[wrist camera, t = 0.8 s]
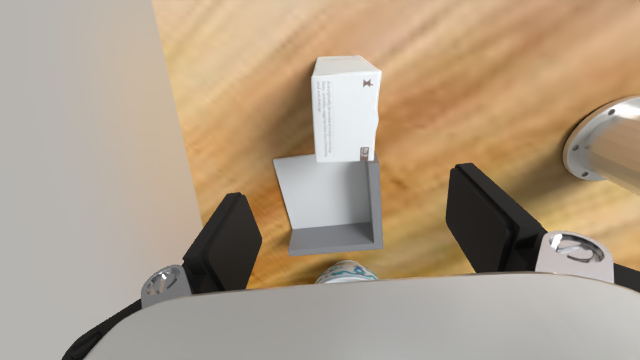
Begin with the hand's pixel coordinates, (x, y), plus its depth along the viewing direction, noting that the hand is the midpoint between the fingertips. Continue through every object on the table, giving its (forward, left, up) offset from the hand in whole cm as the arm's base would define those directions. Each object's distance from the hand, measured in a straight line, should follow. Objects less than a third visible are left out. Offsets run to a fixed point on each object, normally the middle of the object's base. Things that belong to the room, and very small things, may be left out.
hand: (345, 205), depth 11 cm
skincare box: (0, -1, -27) cm, 27 cm away
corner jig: (+4, +16, -26) cm, 31 cm away
